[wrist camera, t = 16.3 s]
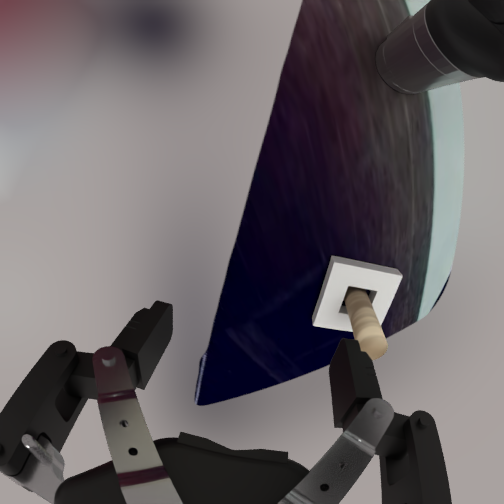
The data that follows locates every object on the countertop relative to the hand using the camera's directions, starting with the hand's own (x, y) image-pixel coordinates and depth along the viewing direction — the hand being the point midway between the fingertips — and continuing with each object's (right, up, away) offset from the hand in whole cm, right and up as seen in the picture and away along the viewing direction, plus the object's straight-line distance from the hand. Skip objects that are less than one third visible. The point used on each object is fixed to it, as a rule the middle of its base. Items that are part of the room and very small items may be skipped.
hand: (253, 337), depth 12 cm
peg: (+17, -3, +32) cm, 36 cm away
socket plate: (+17, -3, +32) cm, 36 cm away
